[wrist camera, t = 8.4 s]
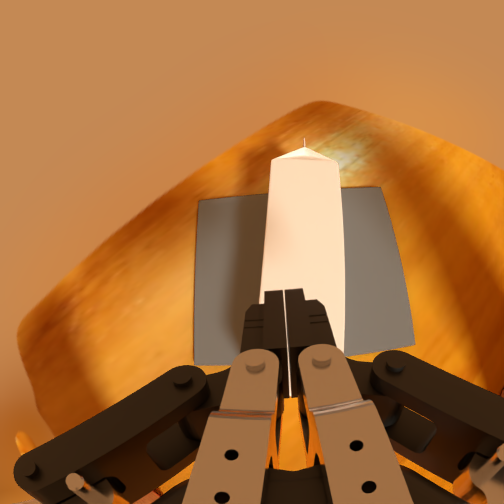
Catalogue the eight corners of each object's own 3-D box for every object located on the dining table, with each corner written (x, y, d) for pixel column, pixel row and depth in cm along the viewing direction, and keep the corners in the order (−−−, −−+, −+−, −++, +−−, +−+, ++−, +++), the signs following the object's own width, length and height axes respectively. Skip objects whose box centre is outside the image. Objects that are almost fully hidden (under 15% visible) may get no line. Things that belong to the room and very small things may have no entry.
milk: (328, 392, 22) (330, 176, 31) (341, 398, 16) (337, 137, 25) (256, 388, 23) (276, 174, 31) (247, 393, 17) (273, 134, 26)
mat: (379, 190, 30) (380, 187, 29) (412, 345, 23) (415, 344, 22) (200, 203, 32) (198, 200, 31) (196, 365, 25) (194, 365, 24)
